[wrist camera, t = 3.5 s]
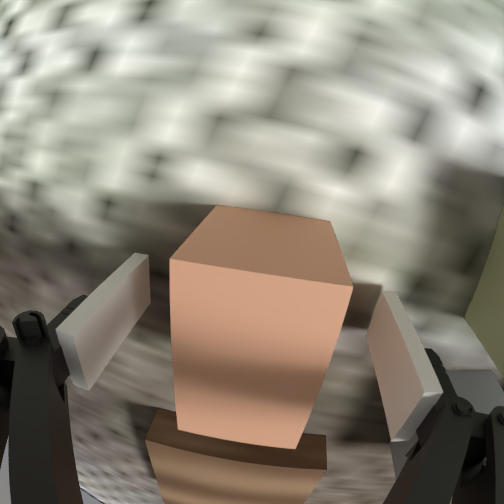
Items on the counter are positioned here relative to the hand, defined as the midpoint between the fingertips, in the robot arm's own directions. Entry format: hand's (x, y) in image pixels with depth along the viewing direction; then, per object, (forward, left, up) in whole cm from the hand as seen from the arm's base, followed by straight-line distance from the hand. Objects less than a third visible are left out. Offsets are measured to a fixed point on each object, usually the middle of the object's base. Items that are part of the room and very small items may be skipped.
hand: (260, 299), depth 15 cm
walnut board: (-18, 0, -1) cm, 18 cm away
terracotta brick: (0, 0, -1) cm, 1 cm away
